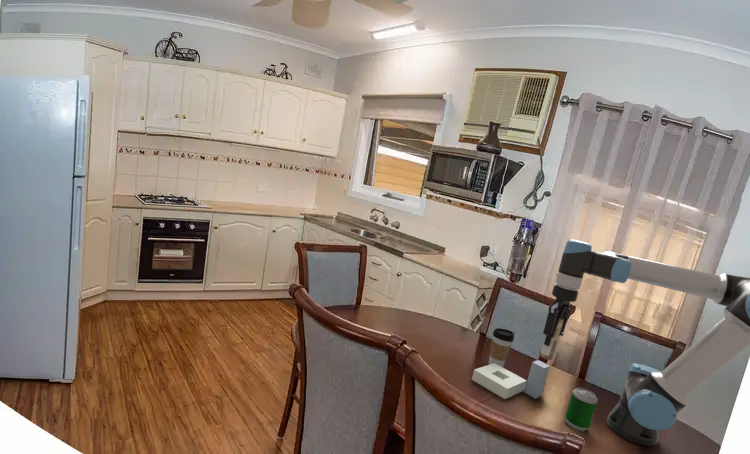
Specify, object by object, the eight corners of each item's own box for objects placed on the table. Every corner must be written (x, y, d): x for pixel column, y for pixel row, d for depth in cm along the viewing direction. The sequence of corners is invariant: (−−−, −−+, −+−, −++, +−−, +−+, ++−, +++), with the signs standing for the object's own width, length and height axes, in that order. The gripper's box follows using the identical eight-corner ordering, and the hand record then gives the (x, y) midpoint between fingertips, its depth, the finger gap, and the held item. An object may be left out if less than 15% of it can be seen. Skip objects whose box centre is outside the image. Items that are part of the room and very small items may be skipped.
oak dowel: (553, 358, 146) (565, 319, 143) (549, 360, 143) (560, 321, 141) (543, 354, 148) (554, 315, 146) (539, 355, 146) (550, 316, 143)
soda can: (587, 436, 138) (597, 401, 137) (562, 424, 142) (572, 391, 140) (589, 426, 145) (599, 393, 143) (565, 415, 149) (575, 383, 147)
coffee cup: (507, 372, 174) (516, 337, 172) (485, 366, 175) (494, 331, 173) (505, 363, 182) (513, 330, 180) (484, 358, 183) (493, 324, 181)
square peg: (541, 395, 160) (549, 365, 158) (535, 398, 156) (544, 368, 155) (529, 389, 163) (538, 360, 161) (524, 392, 160) (532, 362, 158)
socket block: (524, 390, 161) (526, 380, 160) (504, 399, 151) (507, 388, 151) (491, 372, 171) (494, 362, 170) (471, 379, 161) (474, 369, 160)
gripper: (565, 281, 150) (547, 344, 154) (544, 284, 139) (525, 352, 142) (587, 289, 145) (568, 354, 149) (567, 292, 133) (547, 362, 137)
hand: (547, 353), depth 145 cm, fingers closed on oak dowel, 3 cm apart
